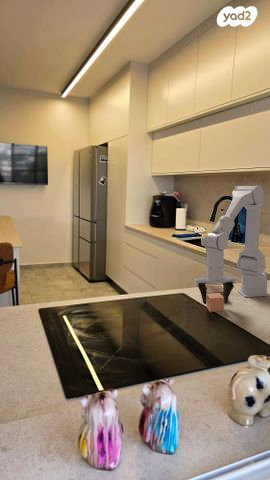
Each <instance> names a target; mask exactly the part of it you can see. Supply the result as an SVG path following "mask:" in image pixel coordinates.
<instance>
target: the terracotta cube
mask: <svg viewBox="0 0 270 480" xmlns="http://www.w3.org/2000/svg"><path fill="white" fill-rule="evenodd" d="M205 307H206V308H207V310H208V311H209V313H210V312H211V313H213V312H215V313H216V312H224V311H225V302H224V297H223V296H222V295H221V294H220V293H211V294H206V304H205Z"/></svg>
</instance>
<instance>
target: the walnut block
mask: <svg viewBox="0 0 270 480" xmlns="http://www.w3.org/2000/svg"><path fill="white" fill-rule="evenodd" d="M206 287H207V291H206V294H211V293H220V294H221V295H222V296H223V294H224V290H223V285H218V284H217V285H206ZM200 295H201V294H200ZM201 297H202V295H201Z"/></svg>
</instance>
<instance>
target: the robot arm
mask: <svg viewBox="0 0 270 480" xmlns="http://www.w3.org/2000/svg"><path fill="white" fill-rule="evenodd" d="M231 196H232V200H231V202H230V204H229V207H228V208H227V211H226V212H225V215H222V216H220V217H219V218H218V220H217V222H216V223H215V225H214V227H213V228H212V231H211V232H209V233H207V234H206V235H205V236H204V239H203V247H204V248H205V253H206V276H204V277H203V276H202V277H197V278H195V277H194V284H195V286H197V288H198V289H199V292H200V295H202V296H201V299H202V303H203V305H206V291H207V287H206V286H207V285H211V284H213V285H214V284H217V285H218V284H222V287H223V290H224V294H223V297H224V304H228V301H229V298H230V295H231V292H232V291H233V289H234V286H235V285H234V284H237V278H236V277H235V276H224V272H225V271H224V263H225V261H224V260H225V249H226V248H227V247H228V242H229V236H230V233H231V232H232V230H233V228H234V226H235V224H236V223H235V219H236V217H237V216H238V214H240V212H241V210H242V209H243V207H244V208H245V210H246V218H245V219H246V220H245V236H244V249H242V250H241V251H240V252H239V253H238V257H237V258H238V259H237V261H236V265H237V268H238V270H239V272H240V273H241V282H240V283H241V288H240V289H237V291H238V292H237V293H239V294H241V296H243V297H244V298H250V297H253V298H254V297H256V298H257V297H268V295H269V294H268V277H267V276H268V275H267V274H266V273H265V271H266V267H267V263H266V255H265V253H263V252H262V251H261V250H260V249H259V247H260V246H259V245H260V243H259V242H260V229H261V228H260V227H261V226H260V225H261V210H262V207H264V202H265V201H264V199H265V191H264V189H263V188H262V186H261V185H259V184H258V185H236V186H235V187H234V189H233V191H232V193H231Z"/></svg>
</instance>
